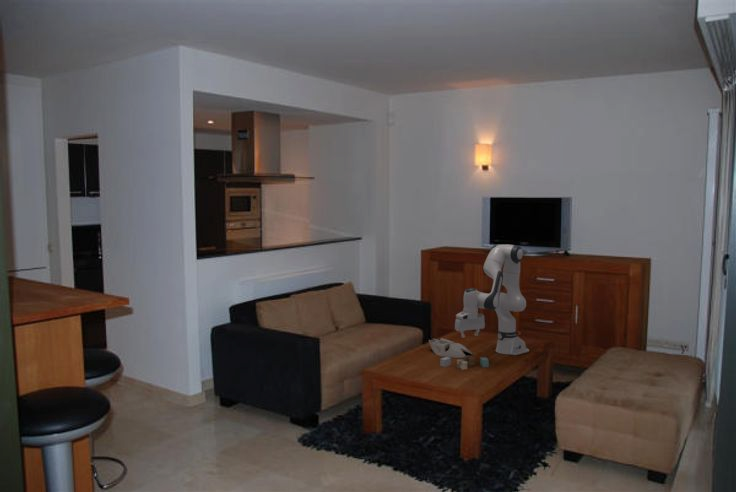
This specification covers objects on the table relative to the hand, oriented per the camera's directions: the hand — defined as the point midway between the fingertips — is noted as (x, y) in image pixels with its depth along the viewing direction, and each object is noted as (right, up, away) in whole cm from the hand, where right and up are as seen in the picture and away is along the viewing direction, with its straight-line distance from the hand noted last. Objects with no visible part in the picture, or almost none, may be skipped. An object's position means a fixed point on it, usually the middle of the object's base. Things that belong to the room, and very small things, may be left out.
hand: (469, 336), depth 378 cm
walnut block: (0, -17, +2) cm, 17 cm away
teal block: (+9, -18, -2) cm, 20 cm away
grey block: (-15, -18, -1) cm, 23 cm away
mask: (-9, -15, +27) cm, 32 cm away
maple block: (-6, -18, -7) cm, 20 cm away
